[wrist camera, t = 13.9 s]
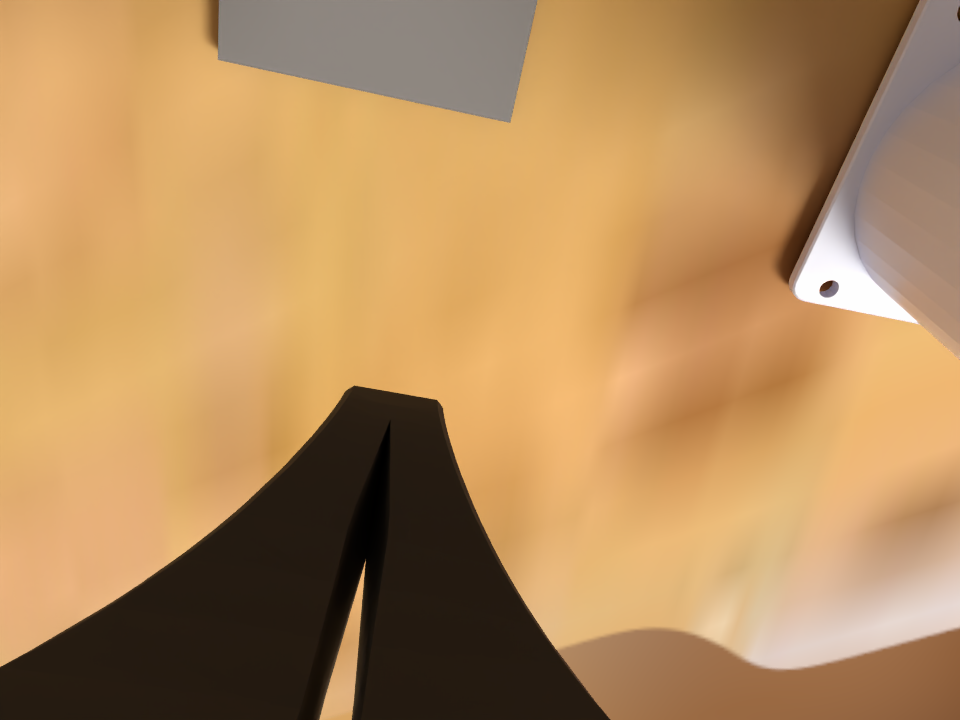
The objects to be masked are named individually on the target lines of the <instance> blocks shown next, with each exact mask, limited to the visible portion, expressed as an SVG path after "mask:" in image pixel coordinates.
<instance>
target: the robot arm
mask: <svg viewBox="0 0 960 720" xmlns="http://www.w3.org/2000/svg"><path fill="white" fill-rule="evenodd" d="M959 7H960V0H920V1H919V3H918V5H917V7H916V10H915V12H914V14H913V16H912V18H911V20H910V22H909V24H908V27H907V29H906V31H905V33H904V35H903V37H902V39H901V42H900V44H899V46H898V48H897V50H896V52H895V54H894V56H893V59H892V61H891V63H890V65H889V67H888V69H887V71H886V74H885V76H884V78H883V80H882V82H881V84H880V86H879V88H878V91H877V93H876V95H875V97H874V99H873V101H872V103H871V105H870V108H869V110H868V112H867V114H866V116H865V118H864V120H863V123H862V125H861V127H860V129H859V131H858V133H857V135H856V137H855V140H854V142H853V144H852V146H851V148H850V150H849V152H848V155H847V157H846V159H845V161H844V163H843V165H842V167H841V169H840V172H839V174H838V176H837V178H836V180H835V182H834V184H833V187H832V189H831V191H830V193H829V195H828V197H827V199H826V201H825V204H824V206H823V208H822V210H821V212H820V214H819V216H818V219H817V221H816V223H815V225H814V227H813V229H812V231H811V233H810V236H809V238H808V240H807V242H806V244H805V246H804V248H803V251H802V253H801V255H800V257H799V259H798V261H797V263H796V265H795V268H794V270H793V272H792V274H791V276H790V279H789V288H790V290H791V292H792V293H793V294H794V295H795V296H796V297H797V299H800V300H802V301H805V302H810V303H815V304H820V305H826V306H831V307H836V308H841V309H846V310H851V311H856V312H861V313H866V314H871V315H876V316H881V317H886V318H891V319H896V320H901V321H906V322H911V323H916V324H920V325H921V326H922V327H924V328H925V329H926V330H927V331H928V332H929V333H930V334H931V335H933V336H934V337H935V338H936V339H937V340H938V341H939V342H940V343H941V344H943V345H944V346H945V347H946V348H947V349H948V350H949V351H950V352H951V353H953V354H954V355H955V356H956V357H957V358H958V359H959V360H960V21H959V20H958V17H957V12H958V8H959ZM829 280H833V283H832V286H831V287H830V288H829V289H828V290H826V291H822V292H819V289H820V287H821V285H822V284H823V283H825V282H827V281H829ZM365 560H366V565H365V577H364V588H363V600H362V612H361V624H360V636H359V648H358V660H357V672H356V684H355V696H354V706H353V714H352V720H610V719H609V718H608V716H607V715H606V714H605V713H604V712H603V710H602V709H601V708H600V707H599V706H598V705H597V703H596V702H595V701H594V699H593V698H592V697H591V695H590V694H589V693H588V691H587V690H586V689H585V688H584V686H583V685H582V683H581V682H580V681H579V679H578V678H577V677H576V676H575V674H574V673H573V671H572V670H571V669H570V667H569V666H568V665H567V663H566V662H565V661H564V659H563V658H562V657H561V655H560V654H559V653H558V651H557V650H556V649H555V647H554V646H553V645H552V643H551V642H550V641H549V639H548V638H547V636H546V635H545V633H544V632H543V630H542V629H541V627H540V626H539V624H538V623H537V621H536V620H535V618H534V616H533V615H532V613H531V612H530V610H529V609H528V607H527V606H526V604H525V603H524V601H523V599H522V598H521V596H520V594H519V593H518V591H517V589H516V588H515V586H514V584H513V583H512V581H511V579H510V577H509V576H508V574H507V572H506V570H505V568H504V567H503V565H502V563H501V561H500V559H499V557H498V555H497V554H496V552H495V550H494V548H493V546H492V544H491V542H490V540H489V538H488V536H487V534H486V531H485V529H484V527H483V525H482V523H481V521H480V519H479V517H478V514H477V512H476V510H475V508H474V505H473V503H472V500H471V498H470V495H469V493H468V490H467V488H466V485H465V483H464V480H463V478H462V475H461V473H460V470H459V467H458V464H457V462H456V459H455V456H454V452H453V449H452V446H451V443H450V439H449V436H448V432H447V428H446V424H445V419H444V413H443V408H442V406H441V405H440V403H439V402H438V401H437V400H434V399H428V398H422V397H416V396H411V395H405V394H399V393H394V392H388V391H382V390H376V389H371V388H365V387H359V386H353V387H351V388H350V389H348V390H346V391H345V393H344V395H343V396H342V398H341V400H340V401H339V402H338V404H337V405H336V407H335V408H334V409H333V411H332V412H331V413H330V415H329V416H328V417H327V419H326V420H325V421H324V422H323V424H322V425H321V426H320V427H319V428H318V430H317V431H316V432H315V433H314V434H313V436H312V437H311V438H310V439H309V440H308V441H307V442H306V443H305V444H304V445H303V446H302V448H301V449H300V450H299V451H298V452H297V453H296V454H295V455H294V456H293V457H292V458H291V459H290V461H289V462H288V463H287V464H286V465H285V466H284V467H283V468H282V469H281V470H280V471H279V472H278V473H277V474H276V475H275V476H274V477H273V478H272V479H270V480H269V481H268V482H267V483H266V484H265V485H264V486H263V487H262V488H261V489H260V490H259V491H258V492H257V493H256V494H255V495H253V496H252V497H251V498H250V499H249V500H248V501H247V502H246V503H245V504H244V505H243V506H242V507H240V508H239V509H238V510H237V511H236V512H235V513H233V514H232V515H231V516H230V517H229V518H228V519H226V520H225V521H224V522H223V523H222V524H220V525H219V526H218V527H217V528H216V529H214V530H213V531H212V532H211V533H209V534H208V535H207V536H205V537H204V538H203V539H202V540H200V541H199V542H198V543H197V544H195V545H194V546H193V547H191V548H190V549H189V550H187V551H186V552H185V553H183V554H182V555H181V556H179V557H178V558H176V559H175V560H174V561H172V562H171V563H169V564H168V565H166V566H165V567H164V568H162V569H161V570H159V571H158V572H157V573H155V574H154V575H152V576H151V577H149V578H148V579H147V580H145V581H144V582H142V583H141V584H139V585H138V586H136V587H135V588H133V589H132V590H130V591H129V592H127V593H126V594H124V595H123V596H121V597H120V598H118V599H117V600H115V601H113V602H112V603H110V604H109V605H107V606H105V607H104V608H102V609H100V610H99V611H97V612H95V613H94V614H92V615H90V616H88V617H87V618H85V619H83V620H82V621H80V622H78V623H77V624H75V625H73V626H71V627H70V628H68V629H66V630H65V631H63V632H61V633H60V634H58V635H56V636H55V637H53V638H51V639H49V640H48V641H46V642H44V643H43V644H41V645H39V646H38V647H36V648H34V649H32V650H31V651H29V652H27V653H25V654H23V655H22V656H20V657H18V658H16V659H14V660H12V661H11V662H9V663H7V664H5V665H3V666H1V667H0V720H319V719H320V715H321V711H322V707H323V703H324V699H325V695H326V692H327V689H328V685H329V682H330V678H331V675H332V672H333V668H334V665H335V662H336V658H337V655H338V651H339V648H340V645H341V641H342V638H343V635H344V631H345V628H346V624H347V621H348V618H349V614H350V611H351V608H352V604H353V601H354V597H355V594H356V591H357V587H358V584H359V581H360V577H361V574H362V570H363V567H364V563H365Z"/></svg>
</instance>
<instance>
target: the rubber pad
mask: <svg viewBox="0 0 960 720" xmlns="http://www.w3.org/2000/svg"><path fill="white" fill-rule="evenodd" d="M536 5H537V0H219V26H218V60H221V61H226V62H230V63H235V64H240V65H244V66H249V67H254V68H258V69H263V70H268V71H272V72H277V73H281V74H286V75H291V76H295V77H300V78H305V79H309V80H314V81H318V82H323V83H328V84H332V85H337V86H342V87H346V88H351V89H356V90H360V91H365V92H369V93H374V94H379V95H383V96H388V97H393V98H397V99H402V100H407V101H411V102H416V103H420V104H425V105H430V106H434V107H439V108H444V109H448V110H453V111H458V112H462V113H467V114H471V115H476V116H481V117H485V118H490V119H495V120H499V121H504V122H509V123H510V121H511V117H512V112H513V108H514V103H515V99H516V94H517V90H518V85H519V81H520V76H521V72H522V67H523V63H524V58H525V54H526V49H527V45H528V40H529V36H530V31H531V27H532V22H533V18H534V13H535V9H536Z"/></svg>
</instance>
